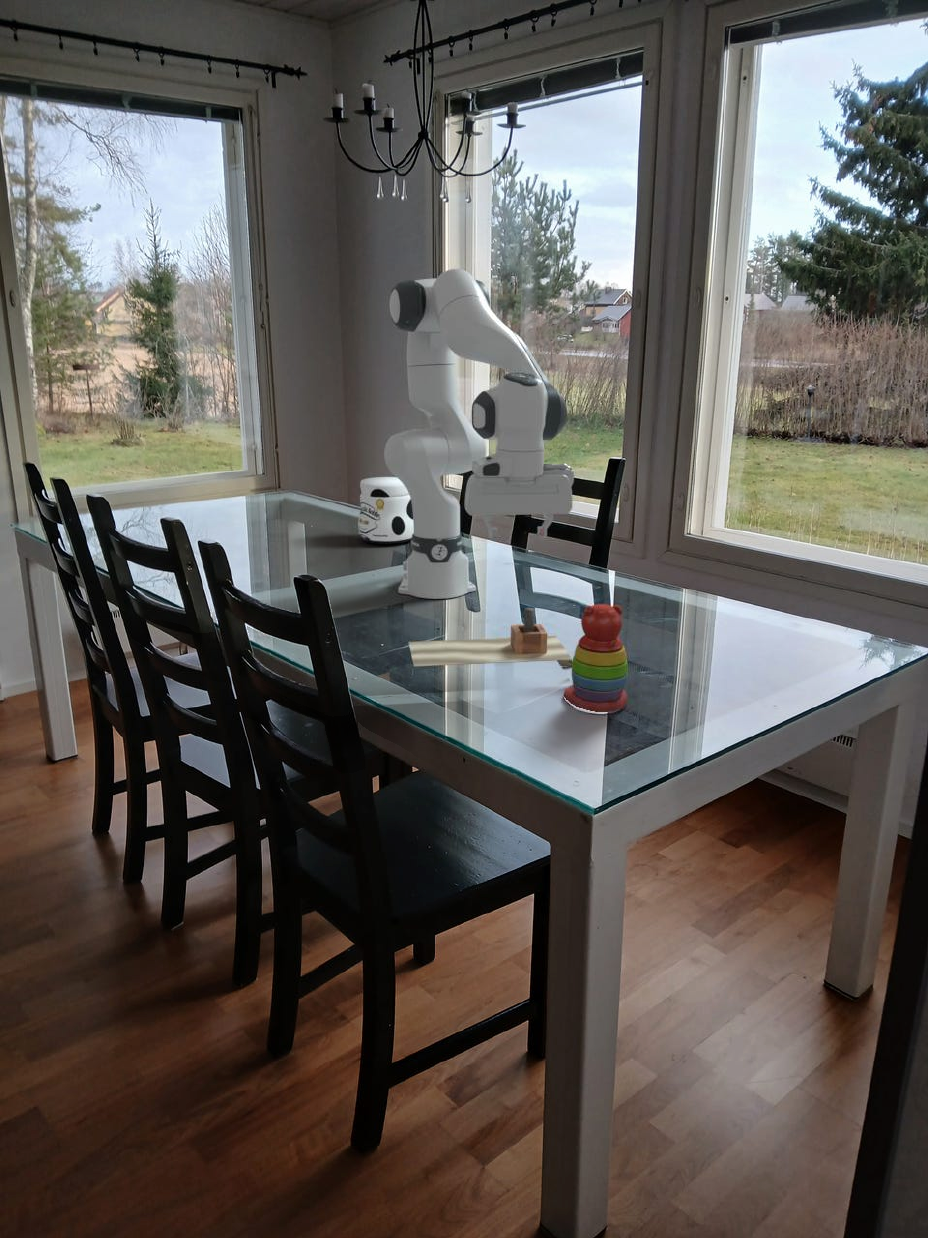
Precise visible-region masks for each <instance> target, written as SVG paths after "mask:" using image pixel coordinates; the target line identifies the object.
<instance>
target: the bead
mask: <svg viewBox="0 0 928 1238" xmlns="http://www.w3.org/2000/svg"><path fill="white" fill-rule="evenodd" d="M547 636H548V631H547V630H546V629H545V627H544V626H543V625H542V624H541V623H534V632H524V624H511V625H510V638H511V646H512V648H513V650H514V651H515V653H516V654H538V653H547Z"/></svg>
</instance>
